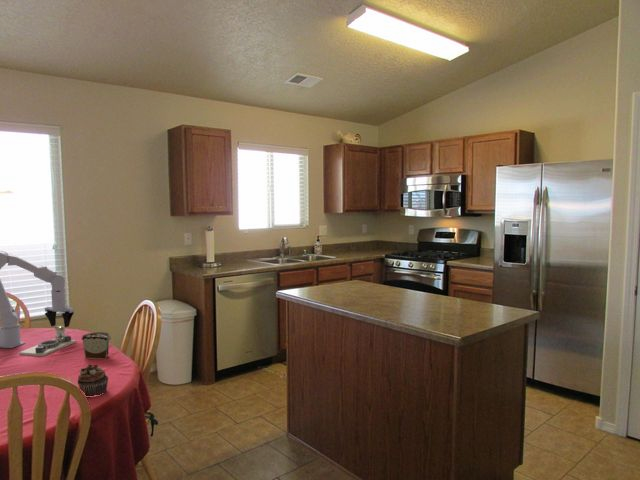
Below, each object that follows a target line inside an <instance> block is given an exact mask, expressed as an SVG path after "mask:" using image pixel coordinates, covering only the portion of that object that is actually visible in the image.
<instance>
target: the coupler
mask: <svg viewBox="0 0 640 480" xmlns="http://www.w3.org/2000/svg"><path fill="white" fill-rule="evenodd" d="M54 327H55V328H54V330H55V339H58V338H63V336H66V327H65V326H64V325H58V326H54Z"/></svg>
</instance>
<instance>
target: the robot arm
mask: <svg viewBox="0 0 640 480" xmlns="http://www.w3.org/2000/svg"><path fill="white" fill-rule="evenodd" d="M6 264H7V266H17V267H19V268H22V269H23V270H26V271H28V272H30V273H33V276H34V277H35V278H37V279H39V280H41V281H43V282H44V283H45V282H46V283H48V284H50V285H51V290H50V291H51V306H46V307H44V312H45V313H44V315H45V317H46V318H47V319H48V321H49V324H50V327H56V323H57V322H56V321H57V320H56V319H57V313H61V315H62V319H63V324H64V325H63V326H65V328H68V327H70V323H71V319H72V317H73V315H74V313H75V310H74V309H75V308H74V307H70V306H69V307H68V306H67V304H66V288H65V282H66V281H65V277H64V275H62V274H61V273H58V271H53V270H51V269H49V268H48V266H46V265H45V266H43V265H39V266H37V265H35V264H32V263H31V262H28V261H26V260H24V259H23V258H21V257H19V256H16V255H15V254H12V253H9V252H6V251H4V250H0V270H1V269H2V268H4V266H5V265H6ZM19 317H20V315H19V313H18V312H17V311H16V310H15V309H14V307H13V306H12V304H11V301H10V299H9V296H8V294H7V292H6V290H5V287H4V284H3V282H2V279H0V348H3V349H13V348H16V347H19V346H21V345H24V344H26V342H25V341H22V340H21V326H20V325H21V324H20V323H19V322H18V320H19Z"/></svg>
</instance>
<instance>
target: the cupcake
mask: <svg viewBox="0 0 640 480" xmlns="http://www.w3.org/2000/svg"><path fill="white" fill-rule="evenodd" d="M108 383H109V376H107V374H106V371H105V370H103V369H102V368H101V367H100V366H98V364H96V365H95V364H94V365H92V364H88V365H87V366H86V367H85V368H81V369H80V370H79V375H78V376H77V385H78V388H79V390H80V389H81V390H82V391H83V392H84V393H85V395H86V396H94V395H100V394H102V393H104V394H106V393H105V391H106V392H107V387H108Z"/></svg>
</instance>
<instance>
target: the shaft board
mask: <svg viewBox="0 0 640 480" xmlns="http://www.w3.org/2000/svg"><path fill="white" fill-rule="evenodd" d="M75 343H77V340H76V339H71V341H69V342H62V343H59V341H58V340H57V339H56V338H52V339H47V340H44V341H41V342H38V344H36V345H35V346H31V347H30V348H27V349H24V350H21V351H19V352H18V354H19V355H21V356H23V355H24V356H35V357H45V356H47V355H49V354H53V353H54V352H57V351H58V350H61V349H63V348H65V347H68V346H71V345H72V344H75ZM43 344H46V345H47V349H45V351H44V352H43V353H36V349H35V348H36V347H40V346H41V345H43ZM70 344H71V345H70Z"/></svg>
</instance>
